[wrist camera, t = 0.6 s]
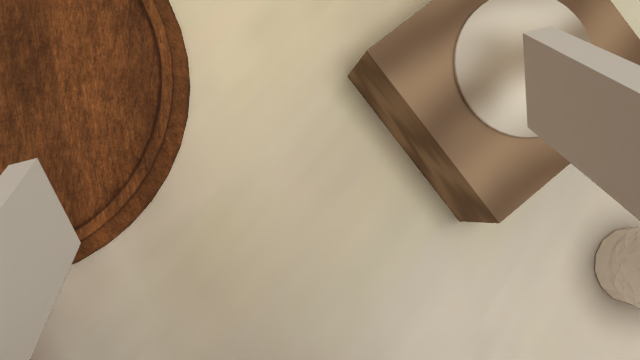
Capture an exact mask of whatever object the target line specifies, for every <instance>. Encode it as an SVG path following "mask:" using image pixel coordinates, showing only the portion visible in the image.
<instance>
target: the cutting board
mask: <svg viewBox="0 0 640 360" xmlns="http://www.w3.org/2000/svg"><path fill="white" fill-rule="evenodd" d="M189 96H190V79H189V67H188V57H187V53H186V49H185V45H184V41H183V36H182V32H181V29H180V26H179V24H178V21H177V19H176V17H175V14H174V12H173V10H172V7H171V5H170V3H169V0H0V175H1V174H2V173H3V172H4V170H5V169H6V168H7V167H8V165H12V164H16V163H20V162H23V161H27V160H31V159H35V158H37V159H38V160H39V162H40V164H41V166H42V168H43V170H44V172H45V174H46V176H47V178H48V180H49V182H50V184H51V186H52V188H53V190H54V192H55V194H56V195H57V197H58V199H59V201H60V203H61V205H62V207H63V209H64V211H65V213H66V215H67V217H68V219H69V221H70V223H71V225H72V227H73V229H74V231H75V232H76V234H77V236H78V238H79V240H80V242H81V244H80V246H79V248H78V251H77V253H76V255H75V258H74V260H73V262H72V264H74V263H76V262H79V261H81V260H82V259H84V258H85V257H87V256H89V255H90V254H92V253H94V252H95V251H97V250H99V249H100V248H102V247H104V246H105V245H107V244H108V243H109V242H110V241H112V240H113V239H114V238H115V237H116V236H118V235H119V234H120V233H121V232H122V231H124V230H125V229H126V228H127V227H128V226H130V225H131V224H132V223H133V222H134V220H135V219H136V218H137V217H138V216H139V215H140V214H141V212H142V211H143V210H144V209H145V208H146V207H147V206H148V205H149V203H150V202H151V201H152V200H153V198H154V197H155V195H156V193H157V192H158V190H159V189H160V187H161V186H162V184H163V182H164V181H165V179H166V178H167V176H168V174H169V172H170V170H171V167H172V165H173V163H174V160H175V158H176V156H177V153H178V151H179V149H180V146H181V142H182V138H183V134H184V130H185V126H186V122H187V118H188V108H189Z"/></svg>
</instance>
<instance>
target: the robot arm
mask: <svg viewBox="0 0 640 360" xmlns="http://www.w3.org/2000/svg"><path fill="white" fill-rule="evenodd" d="M523 49H524V69H525V88H526V108H527V127H528V128H529V129H530V130H532V131H533V132H534V133H535V134H536V135H538V136H539V137H540V138H541V139H542V140H544V141H545V142H546V143H547V144H548V145H550V146H551V147H552V148H553V149H554V150H556V151H557V152H558V153H559V154H560V155H562V156H563V157H564V158H565V159H566V160H568V161H569V162H570V163H571V164H573V165H574V166H575V167H576V168H577V169H579V170H580V171H581V172H582V173H583V174H585V175H586V176H587V177H588V178H589V179H591V180H592V181H593V182H594V183H595V184H597V185H598V186H599V187H600V188H601V189H603V190H604V191H605V192H606V193H607V194H609V195H610V196H611V197H612V198H613V199H615V200H616V201H617V202H618V203H619V204H621V205H622V206H623V207H624V208H625V209H627V210H628V211H629V212H630V213H631V214H633V215H634V216H635V217H636V218H637V219H639V220H640V65H637V64H635V63H633V62H631V61H628V60H626V59H624V58H622V57H620V56H617V55H615V54H613V53H611V52H608V51H606V50H604V49H602V48H599V47H597V46H595V45H593V44H590V43H588V42H586V41H584V40H582V39H579V38H577V37H575V36H573V35H570V34H568V33H566V32H564V31H561V30H559V29H557V28H555V27H552V26H548V27H544V28H540V29H536V30H532V31H528V32H524V33H523ZM80 244H81V242H80V240H79V238H78V236H77V234H76V232H75V231H74V229H73V227H72V225H71V223H70V221H69V219H68V217H67V215H66V213H65V211H64V209H63V207H62V205H61V203H60V201H59V199H58V197H57V195H56V194H55V192H54V190H53V188H52V186H51V184H50V182H49V180H48V178H47V176H46V174H45V172H44V170H43V168H42V166H41V164H40V162H39V160H38V159H37V158H35V159H31V160H27V161H23V162H20V163H16V164H12V165H8V167H7V168H6V169H5V170H4V172H3V173H2V174H1V175H0V360H30V359H31V356H32V354H33V352H34V349H35V347H36V345H37V343H38V340H39V338H40V336H41V333H42V331H43V329H44V326H45V324H46V322H47V320H48V317H49V315H50V313H51V310H52V308H53V306H54V304H55V301H56V299H57V297H58V294H59V292H60V290H61V287H62V285H63V283H64V281H65V278H66V276H67V274H68V271H69V269H70V267H71V265H72V262H73V260H74V258H75V255H76V253H77V251H78V248H79V246H80Z"/></svg>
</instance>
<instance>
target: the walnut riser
mask: <svg viewBox="0 0 640 360" xmlns="http://www.w3.org/2000/svg"><path fill="white" fill-rule="evenodd" d="M548 26H552V27H555V28H557V29H559V30H561V31H564V32H566V33H568V34H570V35H573V36H575V37H577V38H579V39H582V40H584V41H586V42H588V43H590V44H593V45H595V46H597V47H599V48H602V49H604V50H606V51H608V52H611V53H613V54H615V55H617V56H620V57H622V58H624V59H626V60H628V61H631V62H633V63H635V64H637V65H640V39H639V38H638V37H637V35H636V34H635V33H634V31H633V30H632V29H631V27H630V26H629V25H628V23H627V22H626V21H625V19H624V18H623V17H622V15H621V14H620V13H619V11H618V10H617V9H616V7H615V6H614V5H613V3H612V2H611V1H610V0H433V1H432V2H430V3H429V4H428V5H426V6H425V7H424V8H423V9H421V10H420V11H419V12H417V13H416V14H415V15H413V16H412V17H411V18H409V19H408V20H407V21H405V22H404V23H403V24H402V25H400V26H399V27H398V28H396V29H395V30H394V31H392V32H391V33H390V34H388V35H387V36H386V37H384V38H383V39H382V40H380V41H379V42H378V43H377V44H375V45H374V46H373V47H371V48H370V49H369V50H367V51H366V53H365V54H364V55H363V57H362V58H361V59H360V61H359V62H358V63H357V65H356V66H355V67H354V69H353V70H352V71H351V73H350V74H349V75H348V77H349V79H350V80H351V81H352V82H353V84H354V85H355V86H356V88H357V89H358V90H359V92H360V93H361V94H362V95H363V97H364V98H365V99H366V101H367V102H368V103H369V104H370V106H371V107H372V108H373V110H374V111H375V112H376V114H377V115H378V116H379V117H380V119H381V120H382V121H383V123H384V124H385V125H386V127H387V128H388V129H389V130H390V132H391V133H392V134H393V136H394V137H395V138H396V139H397V141H398V142H399V143H400V145H401V146H402V147H403V149H404V150H405V151H406V152H407V154H408V155H409V156H410V158H411V159H412V160H413V162H414V163H415V164H416V165H417V167H418V168H419V169H420V171H421V172H422V173H423V175H424V176H425V177H426V178H427V180H428V181H429V182H430V184H431V185H432V186H433V187H434V189H435V190H436V191H437V193H438V194H439V195H440V197H441V198H442V199H443V200H444V202H445V203H446V204H447V206H448V207H449V208H450V210H451V211H452V212H453V213H454V215H455V216H456V217H457V219H458V220H459V221H466V222H486V223H500V222H501V221H503V220H504V219H505V218H506V217H507V216H508V215H510V214H511V213H512V212H513V211H514V210H516V209H517V208H518V207H519V206H520V205H521V204H523V203H524V202H525V201H526V200H527V199H529V198H530V197H531V196H532V195H533V194H534V193H536V192H537V191H538V190H539V189H540V188H542V187H543V186H544V185H545V184H546V183H547V182H549V181H550V180H551V179H552V178H553V177H555V176H556V175H557V174H558V173H559V172H560V171H562V170H563V169H564V168H565V167H566V166H568V165H569V164H570V162H569V161H568V160H566V159H565V158H564V157H563V156H562V155H560V154H559V153H558V152H557V151H556V150H554V149H553V148H552V147H551V146H550V145H548V144H547V143H546V142H545V141H544V140H542V139H541V138H540V137H539V136H538V135H536V134H535V133H534V132H533V131H532V130H530V129H529V128H528V127H527V108H526V88H525V69H524V49H523V33H524V32H528V31H532V30H536V29H540V28H544V27H548Z"/></svg>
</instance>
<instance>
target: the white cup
mask: <svg viewBox="0 0 640 360" xmlns="http://www.w3.org/2000/svg"><path fill="white" fill-rule="evenodd" d="M595 273H596V275H597V278H598V280H599V283H600V285H601V287H602V288H603V289H604V290H605V291H606V292H607V293H608V294H609V295H610V296H611V297H612V298H614V299H616V300H620V301H623V302H626V303H629V304H632V305H634V306H636V307H638V308H639V309H640V228H627V229H621V230H616V231H614V232H613V233H612V234H610V235H609V236H608V237H606V238H605V239H604V240H603V241H602V243H601V245H600V247H599V249H598V251H597V253H596V259H595Z"/></svg>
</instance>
